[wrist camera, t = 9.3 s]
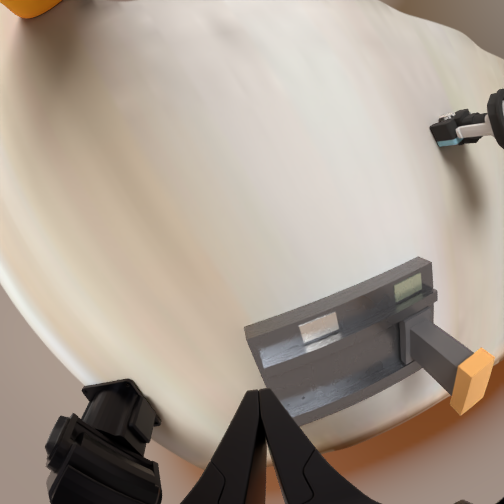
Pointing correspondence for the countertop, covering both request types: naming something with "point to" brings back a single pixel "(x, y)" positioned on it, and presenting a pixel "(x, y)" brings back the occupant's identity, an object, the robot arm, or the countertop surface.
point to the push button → (472, 124)
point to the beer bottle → (29, 7)
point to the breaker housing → (341, 343)
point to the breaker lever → (445, 359)
